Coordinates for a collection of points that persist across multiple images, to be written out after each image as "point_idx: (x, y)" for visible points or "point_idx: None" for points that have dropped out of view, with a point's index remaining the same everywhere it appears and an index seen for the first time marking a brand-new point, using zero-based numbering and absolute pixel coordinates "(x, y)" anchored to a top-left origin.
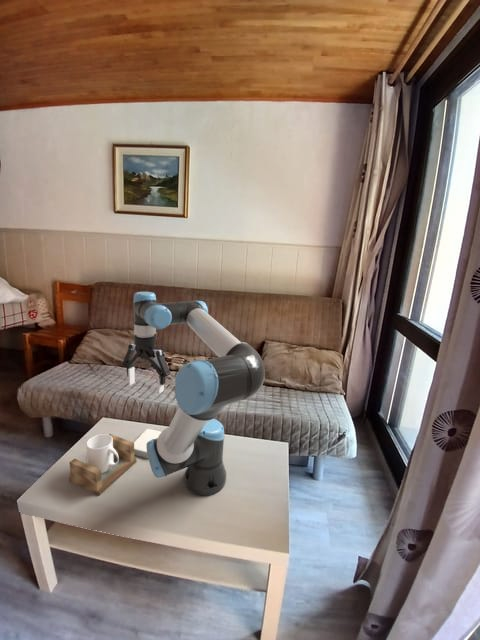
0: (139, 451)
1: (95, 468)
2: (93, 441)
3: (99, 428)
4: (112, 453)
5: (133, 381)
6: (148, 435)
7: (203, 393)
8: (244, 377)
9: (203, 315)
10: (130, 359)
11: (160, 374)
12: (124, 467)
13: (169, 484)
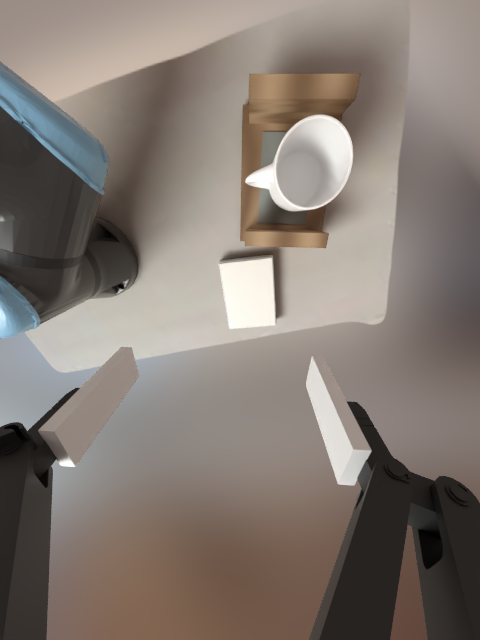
0: (245, 259)
1: (266, 94)
2: (340, 177)
3: (382, 294)
4: (272, 189)
5: (310, 384)
6: (259, 307)
7: None
8: None
9: None
10: (421, 584)
11: (2, 460)
12: (246, 206)
13: (142, 215)
